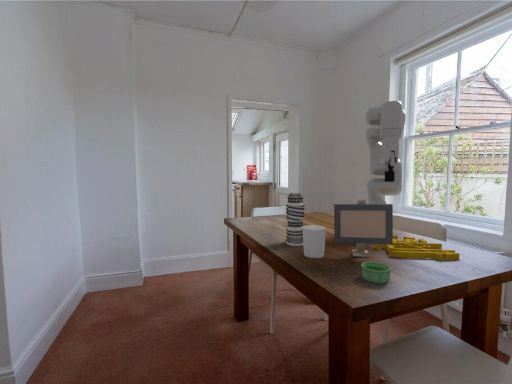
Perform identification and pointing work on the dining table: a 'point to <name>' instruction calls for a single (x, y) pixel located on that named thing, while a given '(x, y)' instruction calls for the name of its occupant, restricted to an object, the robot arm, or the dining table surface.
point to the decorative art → (417, 249)
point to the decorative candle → (295, 219)
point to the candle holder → (314, 240)
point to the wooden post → (360, 247)
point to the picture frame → (363, 223)
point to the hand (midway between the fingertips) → (389, 181)
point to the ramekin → (376, 272)
